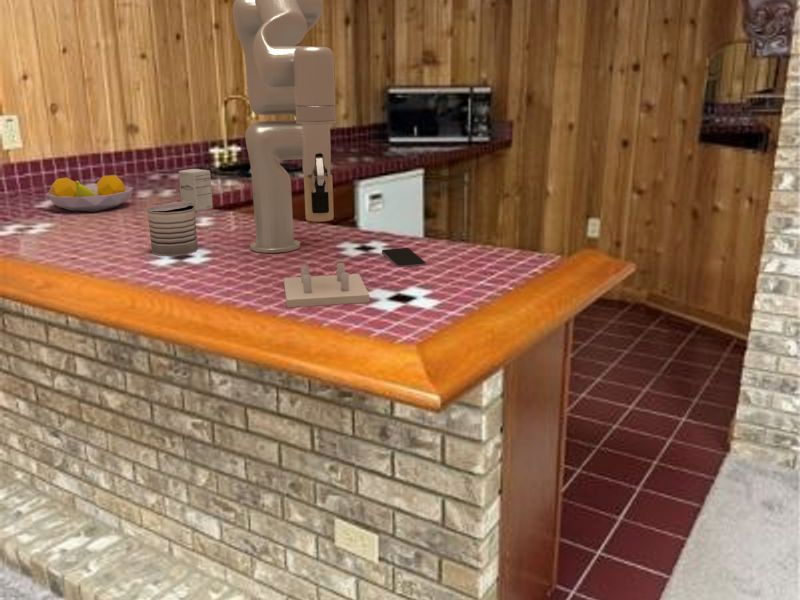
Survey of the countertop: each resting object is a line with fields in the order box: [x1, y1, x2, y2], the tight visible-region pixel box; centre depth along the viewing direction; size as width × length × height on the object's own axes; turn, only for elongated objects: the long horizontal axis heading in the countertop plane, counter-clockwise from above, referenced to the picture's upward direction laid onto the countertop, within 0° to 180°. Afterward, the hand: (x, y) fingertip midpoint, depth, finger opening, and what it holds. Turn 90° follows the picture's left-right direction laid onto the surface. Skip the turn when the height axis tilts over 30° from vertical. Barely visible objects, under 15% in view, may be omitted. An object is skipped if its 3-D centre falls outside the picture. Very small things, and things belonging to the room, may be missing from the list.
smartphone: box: [381, 247, 427, 268], centre depth 178 cm, size 7×1×15 cm
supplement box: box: [178, 168, 214, 212], centre depth 243 cm, size 7×7×13 cm
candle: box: [303, 170, 335, 222], centre depth 145 cm, size 6×6×10 cm
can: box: [146, 201, 199, 257], centre depth 186 cm, size 11×11×12 cm
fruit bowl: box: [45, 174, 134, 212], centre depth 245 cm, size 28×27×11 cm
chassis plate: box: [283, 262, 371, 308], centre depth 150 cm, size 16×16×5 cm
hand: (319, 208), depth 146 cm, fingers closed on candle, 5 cm apart
